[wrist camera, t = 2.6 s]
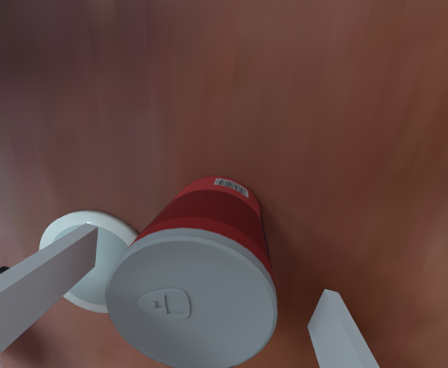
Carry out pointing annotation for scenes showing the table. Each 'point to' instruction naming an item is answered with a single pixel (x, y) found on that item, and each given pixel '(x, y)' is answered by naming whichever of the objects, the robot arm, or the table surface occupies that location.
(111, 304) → the canned food
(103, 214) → the plate
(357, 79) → the table surface
